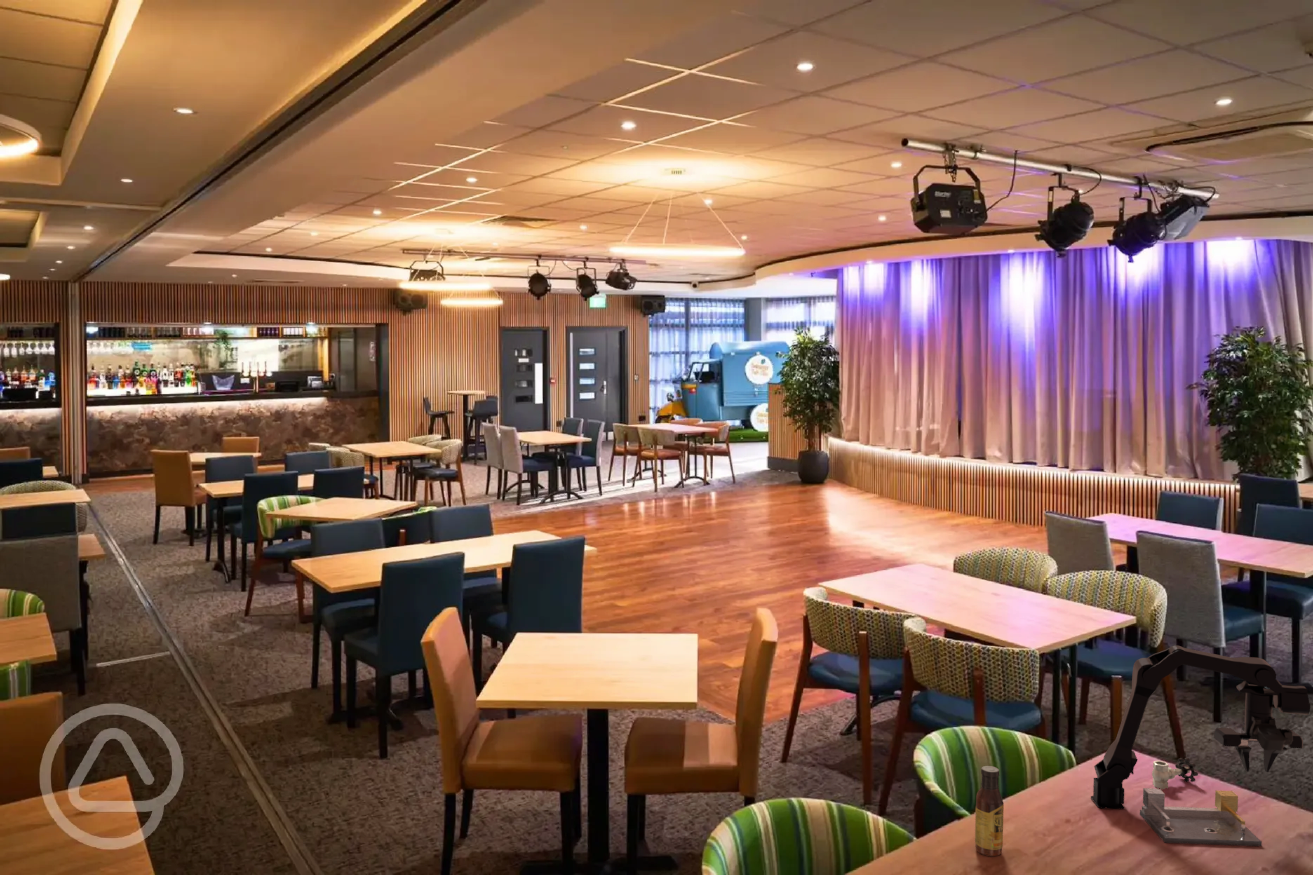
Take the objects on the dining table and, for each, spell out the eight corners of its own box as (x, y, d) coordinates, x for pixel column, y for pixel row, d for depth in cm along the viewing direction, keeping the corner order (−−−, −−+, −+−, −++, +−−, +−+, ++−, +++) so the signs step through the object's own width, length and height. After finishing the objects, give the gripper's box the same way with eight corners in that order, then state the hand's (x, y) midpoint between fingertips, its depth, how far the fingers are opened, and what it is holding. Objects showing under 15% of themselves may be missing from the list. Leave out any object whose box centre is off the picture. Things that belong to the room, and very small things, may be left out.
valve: (1164, 792, 259) (1198, 785, 263) (1165, 768, 258) (1198, 762, 262) (1144, 782, 265) (1177, 776, 269) (1145, 759, 264) (1178, 753, 268)
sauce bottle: (999, 860, 223) (1000, 777, 222) (971, 853, 227) (973, 771, 225) (1005, 848, 229) (1006, 767, 228) (978, 841, 232) (979, 761, 231)
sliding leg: (1235, 831, 233) (1236, 808, 233) (1214, 811, 244) (1215, 790, 243) (1252, 831, 233) (1253, 809, 233) (1231, 812, 243) (1232, 790, 243)
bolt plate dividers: (1164, 842, 231) (1165, 813, 231) (1139, 814, 246) (1140, 787, 246) (1261, 846, 229) (1262, 817, 228) (1230, 817, 244) (1231, 789, 243)
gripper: (1235, 720, 232) (1233, 783, 233) (1317, 722, 231) (1315, 786, 232) (1213, 704, 243) (1211, 765, 244) (1291, 706, 242) (1289, 767, 243)
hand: (1256, 771), depth 241 cm, fingers open, 4 cm apart
